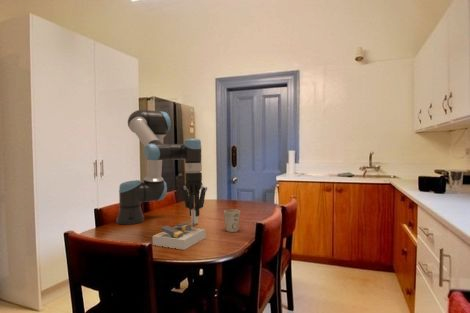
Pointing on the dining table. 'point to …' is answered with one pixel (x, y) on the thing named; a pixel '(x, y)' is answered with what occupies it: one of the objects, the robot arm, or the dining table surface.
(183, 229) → the rocker
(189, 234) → the switch unit
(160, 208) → the dining table surface
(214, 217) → the dining table surface
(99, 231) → the dining table surface
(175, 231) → the rocker
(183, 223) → the rocker
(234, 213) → the mug
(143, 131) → the robot arm
